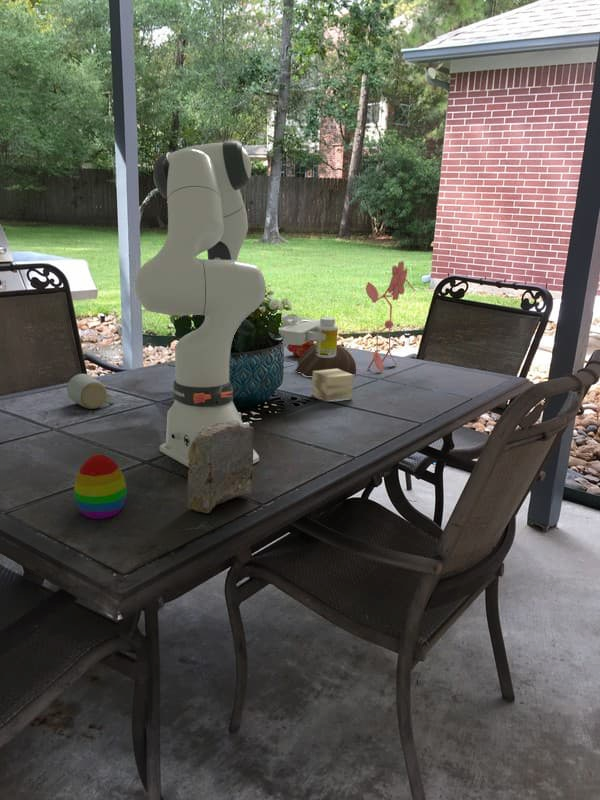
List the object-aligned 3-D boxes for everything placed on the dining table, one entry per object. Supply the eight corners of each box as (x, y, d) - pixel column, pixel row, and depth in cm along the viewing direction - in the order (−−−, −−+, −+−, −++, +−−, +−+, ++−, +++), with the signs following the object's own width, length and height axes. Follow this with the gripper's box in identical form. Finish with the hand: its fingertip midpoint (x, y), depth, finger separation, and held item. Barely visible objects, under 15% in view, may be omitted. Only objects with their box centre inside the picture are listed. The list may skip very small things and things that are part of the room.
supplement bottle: (340, 356, 178) (342, 319, 175) (325, 359, 175) (327, 320, 172) (326, 353, 182) (328, 316, 179) (311, 355, 179) (312, 317, 176)
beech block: (352, 399, 180) (353, 374, 178) (327, 403, 176) (328, 377, 174) (336, 392, 187) (337, 368, 185) (311, 395, 183) (312, 371, 181)
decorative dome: (282, 370, 211) (283, 339, 208) (327, 363, 224) (329, 334, 221) (323, 383, 197) (325, 350, 194) (369, 374, 210) (371, 343, 207)
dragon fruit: (286, 358, 236) (315, 367, 230) (278, 347, 228) (307, 357, 223) (297, 337, 237) (325, 346, 232) (289, 326, 230) (318, 335, 225)
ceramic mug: (82, 412, 161) (80, 381, 159) (67, 404, 167) (65, 375, 165) (121, 405, 168) (120, 376, 166) (106, 398, 174) (105, 370, 172)
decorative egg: (133, 503, 113) (131, 448, 110) (117, 524, 105) (114, 466, 102) (86, 500, 113) (83, 445, 111) (67, 521, 106) (63, 463, 103)
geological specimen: (231, 490, 119) (231, 411, 115) (256, 500, 116) (257, 418, 112) (186, 509, 111) (184, 424, 107) (211, 520, 108) (211, 433, 103)
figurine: (352, 373, 209) (361, 260, 199) (388, 360, 230) (398, 257, 220) (396, 382, 201) (408, 265, 191) (429, 368, 222) (441, 262, 212)
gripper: (267, 323, 171) (318, 328, 166) (294, 313, 189) (341, 317, 185) (267, 347, 172) (317, 353, 168) (294, 335, 191) (340, 340, 187)
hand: (330, 334), depth 177 cm, fingers closed on supplement bottle, 5 cm apart
